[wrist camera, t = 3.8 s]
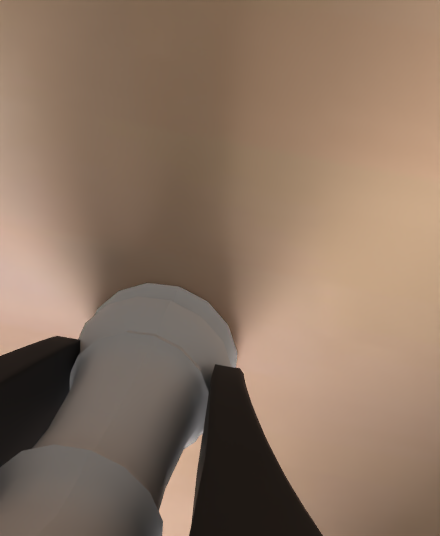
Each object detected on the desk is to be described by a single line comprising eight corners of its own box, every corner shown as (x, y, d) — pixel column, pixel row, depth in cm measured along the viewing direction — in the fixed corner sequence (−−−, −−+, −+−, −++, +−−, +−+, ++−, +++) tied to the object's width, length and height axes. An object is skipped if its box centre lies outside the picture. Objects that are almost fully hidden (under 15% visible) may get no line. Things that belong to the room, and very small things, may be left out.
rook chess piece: (107, 257, 10) (-322, 521, 3) (258, 304, 10) (250, 716, 3) (81, 386, 12) (-257, 809, 4) (215, 429, 12) (127, 944, 4)
